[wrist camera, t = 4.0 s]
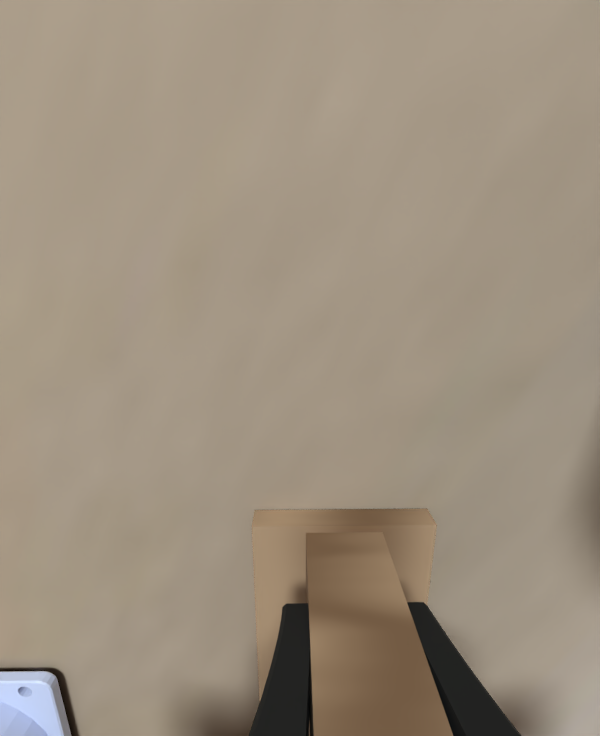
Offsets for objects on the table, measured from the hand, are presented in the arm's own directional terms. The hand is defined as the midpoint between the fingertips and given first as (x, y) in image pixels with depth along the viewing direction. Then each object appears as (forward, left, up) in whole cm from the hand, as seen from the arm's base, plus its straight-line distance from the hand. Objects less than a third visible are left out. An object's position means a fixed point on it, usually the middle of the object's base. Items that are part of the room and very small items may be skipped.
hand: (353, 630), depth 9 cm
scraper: (0, -9, -3) cm, 10 cm away
